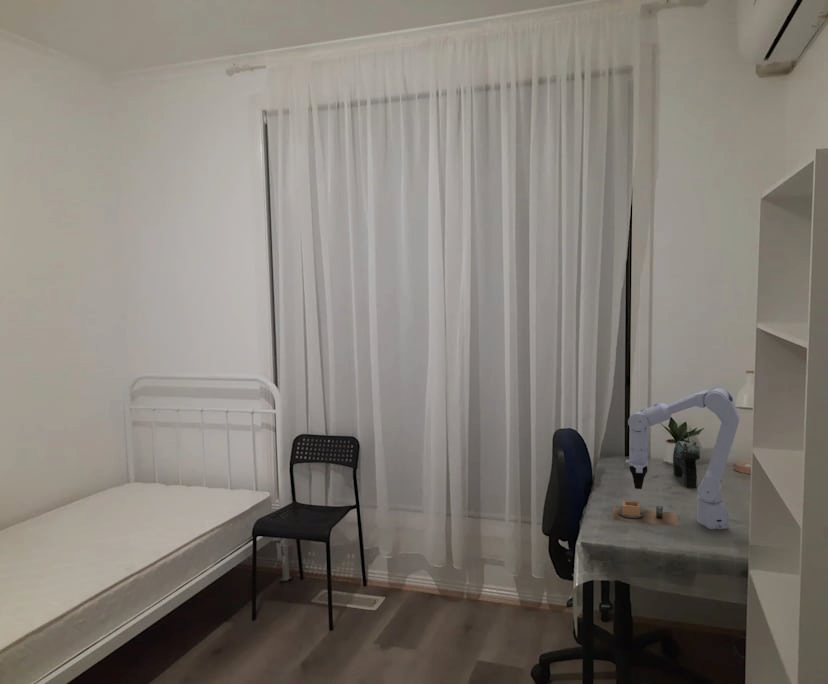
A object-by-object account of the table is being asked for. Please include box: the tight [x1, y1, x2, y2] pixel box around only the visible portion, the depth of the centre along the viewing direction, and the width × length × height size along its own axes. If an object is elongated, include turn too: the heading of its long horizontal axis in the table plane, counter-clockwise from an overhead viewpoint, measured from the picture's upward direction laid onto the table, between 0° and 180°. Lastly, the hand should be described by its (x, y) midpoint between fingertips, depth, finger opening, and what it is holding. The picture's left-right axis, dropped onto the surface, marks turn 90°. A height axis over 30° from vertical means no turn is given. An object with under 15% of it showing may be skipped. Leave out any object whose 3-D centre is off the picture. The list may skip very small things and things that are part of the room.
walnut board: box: [612, 507, 680, 527], centre depth 206 cm, size 20×12×2 cm, turn 72°
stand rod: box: [655, 505, 664, 519], centre depth 204 cm, size 2×2×4 cm
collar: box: [622, 500, 641, 516], centre depth 207 cm, size 5×5×3 cm
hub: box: [619, 505, 643, 519], centre depth 207 cm, size 8×8×3 cm
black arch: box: [672, 432, 701, 489], centre depth 246 cm, size 20×6×20 cm, turn 173°
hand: (638, 488), depth 211 cm, fingers closed
